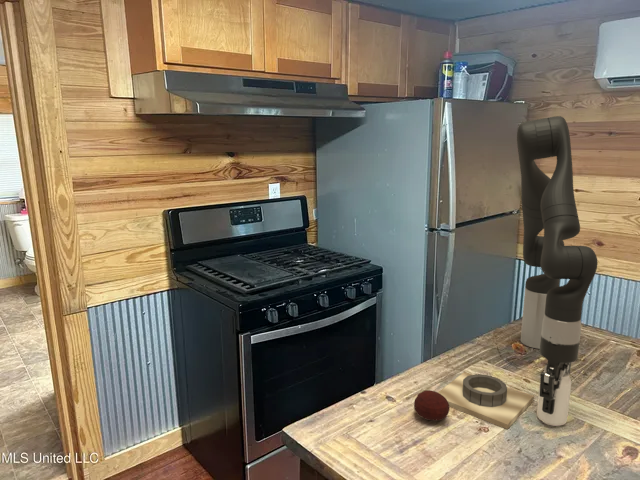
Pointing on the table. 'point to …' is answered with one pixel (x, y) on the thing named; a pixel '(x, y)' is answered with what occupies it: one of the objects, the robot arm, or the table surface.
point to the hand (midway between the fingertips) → (552, 406)
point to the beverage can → (557, 404)
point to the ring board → (488, 412)
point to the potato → (431, 405)
